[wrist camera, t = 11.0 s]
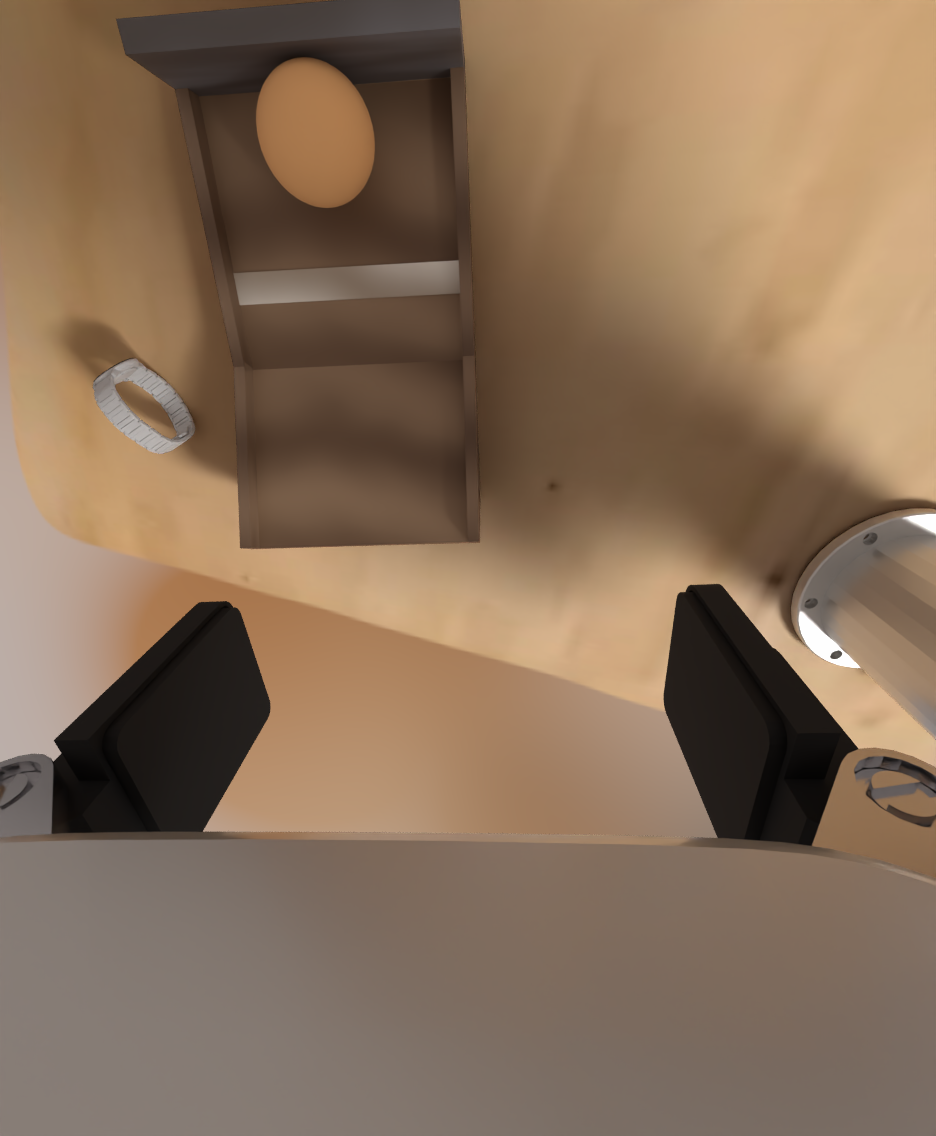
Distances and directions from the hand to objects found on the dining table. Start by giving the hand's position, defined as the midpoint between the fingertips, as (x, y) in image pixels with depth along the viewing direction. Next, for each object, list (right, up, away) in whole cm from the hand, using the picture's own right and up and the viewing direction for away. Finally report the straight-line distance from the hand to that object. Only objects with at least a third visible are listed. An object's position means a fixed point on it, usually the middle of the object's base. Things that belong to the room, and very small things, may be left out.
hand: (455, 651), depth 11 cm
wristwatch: (-18, +12, +21) cm, 30 cm away
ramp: (-6, +16, +18) cm, 25 cm away
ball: (-6, +21, +11) cm, 25 cm away
